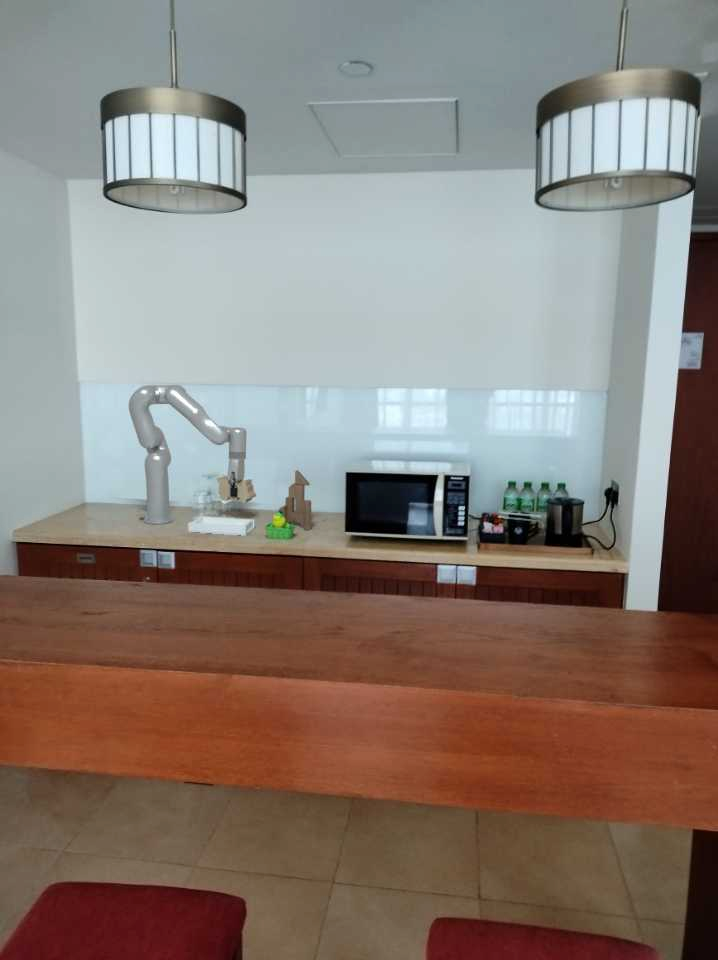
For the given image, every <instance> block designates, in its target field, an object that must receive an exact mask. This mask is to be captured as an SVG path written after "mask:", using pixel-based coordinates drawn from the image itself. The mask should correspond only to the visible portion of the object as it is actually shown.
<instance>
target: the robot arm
mask: <svg viewBox="0 0 718 960" xmlns="http://www.w3.org/2000/svg"><path fill="white" fill-rule="evenodd" d="M152 405H170V406H171V407H172V408H173V409H174V410H176V411H177V412H178V413H179V414H180V415H181V416H183V417H184V419H186V420H187V421H188V422H189V423H190V424H191V425H192V426H194V427H195V429H197V431H198V432H199V433H201V434H202V436H204V437H205V438H206V439H207V440H209V441H210V442H211V443H212V444H213V445H216V446H223V445H224V444H225V443H228V459H229V461H228V467H227V468H228V469H227V477H228V481H230V496H232V497H237V493H238V488H237V483H238V481H244V479H245V474H246V473H245V469H246V468H245V460H246V458H247V430H246V428H244V427H228V426H224V425H218V424H217V422H216V421H214V420H213V419H212V418H211V417H210V416H209V415H208V414H207V412H206V411H205V408H204V407H203V406H202V405H201V404H200V403H199V402H197V400H195V399H194V398H193V397H192V396H190V395H189V393H187V390H186V389H185V387H183V386H182V385H180V384H165V385H163V384H162V385H161V384H151V385H149V384H148V385H143V386H141V387H139V388H137V389H136V390H135V391H134V392H133V393H132V395H131V396H130V398H129V402H128V412H129V414H130V418H131V421H132V424H133V428H134V430H135V434H136V436H137V439H138V443H139V444H140V446H141V447H142V448H144V449H146V452H147V456H146V457H145V459H144V472H145V473H144V474H145V483H146V485H145V487H146V488H145V489H146V511H145V510H140V511H139V516H140V517H144V518H143V522H144V523H145V524H148V525H161V524H163V525H165V524H169V523H172V522H174V517H173V516H171V515H170V486H169V471H168V467H169V466H170V464H171V463H172V455H171V452H170V449H169V444H168V443H167V439H166V437H165V434H164V431H163V430H162V428H160V427H158V426H157V425H155V424H156V423H155V421H154V419H153V415H152V412H151V411H150V406H152ZM234 480H235V481H234Z"/></svg>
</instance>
